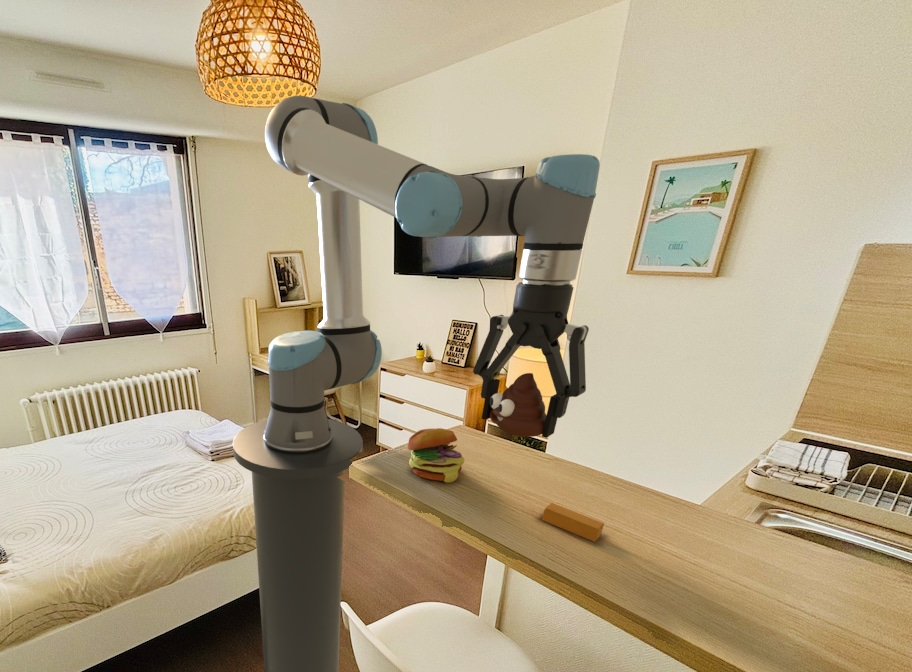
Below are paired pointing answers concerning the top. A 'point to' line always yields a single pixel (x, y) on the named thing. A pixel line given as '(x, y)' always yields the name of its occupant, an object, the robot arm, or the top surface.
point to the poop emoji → (519, 408)
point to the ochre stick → (573, 522)
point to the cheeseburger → (435, 455)
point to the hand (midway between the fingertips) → (516, 425)
